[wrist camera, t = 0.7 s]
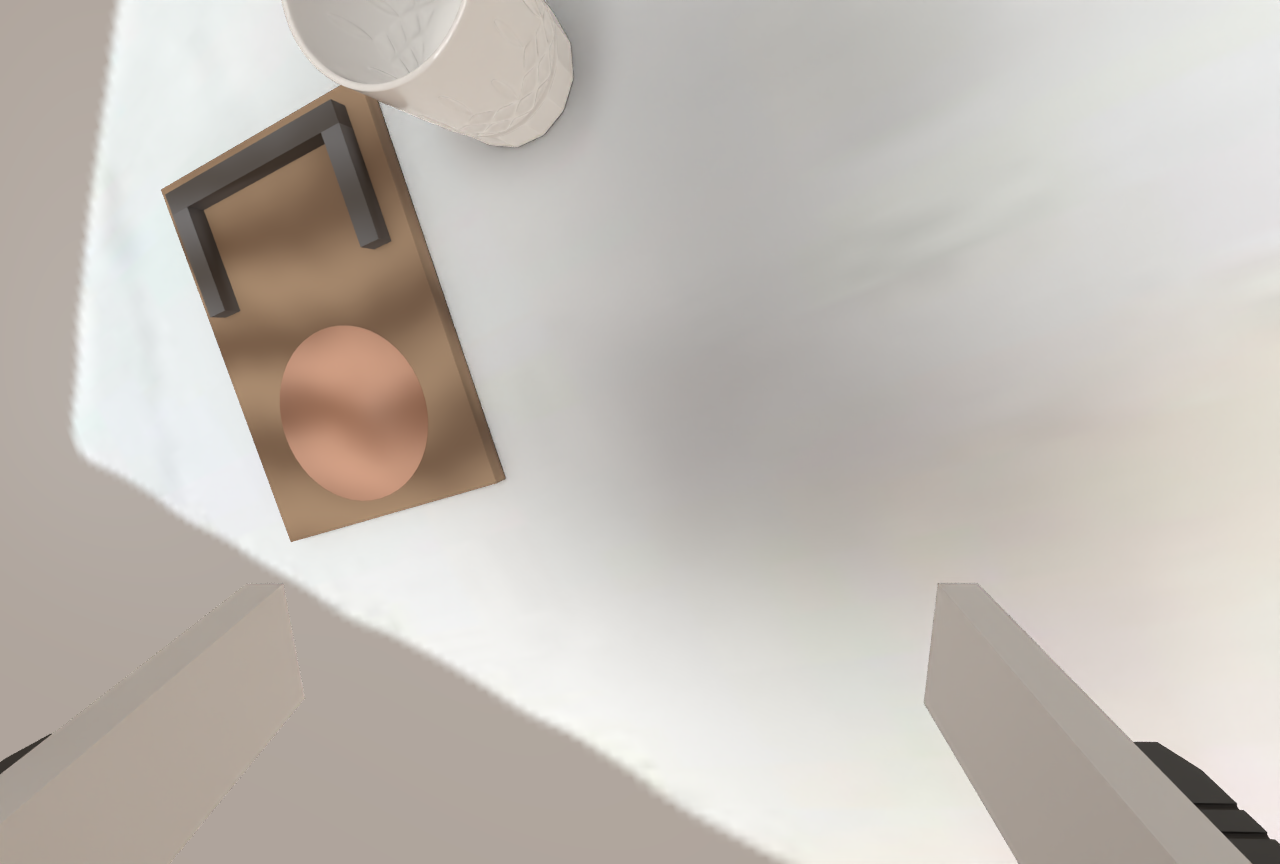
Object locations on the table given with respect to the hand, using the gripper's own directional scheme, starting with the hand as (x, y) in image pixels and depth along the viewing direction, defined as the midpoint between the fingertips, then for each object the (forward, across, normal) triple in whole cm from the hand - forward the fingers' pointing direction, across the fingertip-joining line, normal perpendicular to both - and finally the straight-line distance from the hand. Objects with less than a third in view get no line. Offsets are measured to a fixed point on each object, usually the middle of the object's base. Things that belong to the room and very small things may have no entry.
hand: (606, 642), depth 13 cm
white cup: (+23, -6, +16) cm, 29 cm away
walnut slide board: (+24, -18, +4) cm, 30 cm away
